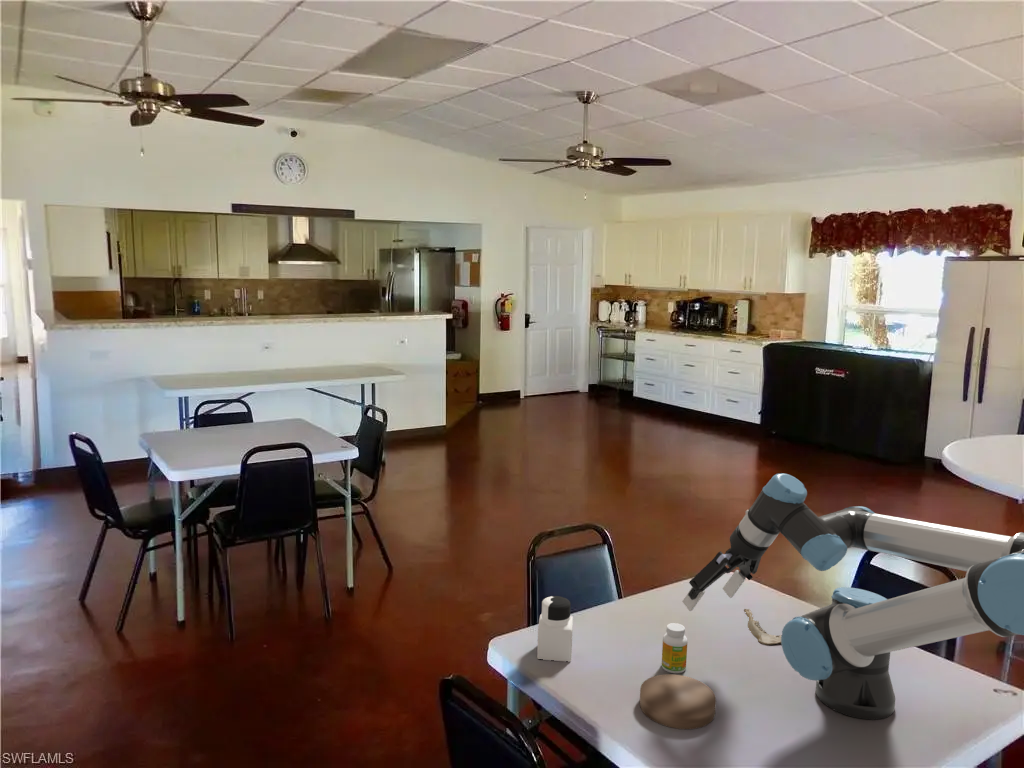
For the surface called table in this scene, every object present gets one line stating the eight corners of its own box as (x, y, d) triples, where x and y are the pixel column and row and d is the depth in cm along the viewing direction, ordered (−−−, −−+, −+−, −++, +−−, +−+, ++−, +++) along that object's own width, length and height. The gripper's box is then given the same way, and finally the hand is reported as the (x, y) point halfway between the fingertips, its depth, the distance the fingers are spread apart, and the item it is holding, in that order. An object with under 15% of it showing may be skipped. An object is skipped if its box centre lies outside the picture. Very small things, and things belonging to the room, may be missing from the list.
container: (572, 646, 180) (573, 593, 179) (571, 662, 173) (573, 608, 171) (539, 643, 181) (540, 591, 179) (537, 660, 174) (538, 606, 172)
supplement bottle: (670, 676, 168) (672, 634, 166) (656, 664, 173) (658, 623, 171) (690, 671, 170) (693, 630, 169) (676, 659, 175) (678, 619, 173)
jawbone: (772, 655, 180) (772, 647, 180) (718, 619, 199) (718, 612, 198) (802, 646, 183) (802, 638, 183) (746, 611, 202) (746, 604, 202)
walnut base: (730, 713, 154) (731, 699, 154) (679, 738, 145) (680, 723, 145) (674, 680, 166) (675, 667, 166) (624, 701, 157) (624, 688, 157)
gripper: (777, 513, 171) (732, 575, 182) (703, 531, 157) (658, 598, 168) (801, 538, 166) (753, 600, 178) (727, 559, 152) (680, 625, 163)
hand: (707, 599), depth 173 cm, fingers open, 13 cm apart
